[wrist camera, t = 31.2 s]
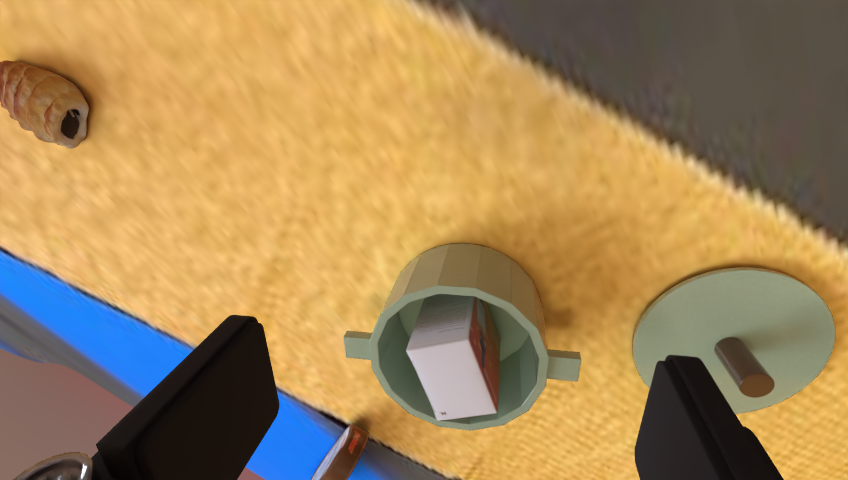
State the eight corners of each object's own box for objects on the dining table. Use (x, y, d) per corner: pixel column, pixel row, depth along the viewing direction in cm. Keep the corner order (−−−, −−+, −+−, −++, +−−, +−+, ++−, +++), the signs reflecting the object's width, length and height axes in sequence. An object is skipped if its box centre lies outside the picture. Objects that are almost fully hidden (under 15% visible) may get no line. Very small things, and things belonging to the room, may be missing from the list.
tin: (329, 480, 61) (304, 541, 53) (310, 469, 60) (281, 529, 53) (377, 420, 54) (356, 480, 46) (356, 407, 54) (331, 466, 46)
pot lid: (647, 258, 39) (670, 293, 34) (856, 270, 36) (919, 310, 31) (618, 396, 46) (633, 444, 41) (792, 415, 43) (834, 469, 38)
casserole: (363, 237, 44) (332, 277, 36) (577, 249, 40) (594, 296, 33) (373, 359, 50) (349, 415, 43) (559, 378, 47) (569, 443, 39)
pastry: (6, 102, 45) (-36, 107, 41) (11, 41, 42) (-34, 40, 38) (87, 150, 45) (53, 158, 42) (98, 92, 42) (62, 96, 39)
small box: (501, 338, 45) (499, 416, 36) (451, 347, 47) (437, 424, 37) (478, 274, 43) (470, 339, 33) (426, 286, 44) (404, 351, 35)
